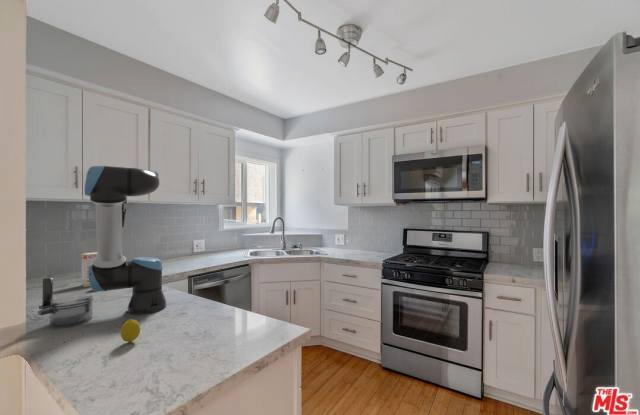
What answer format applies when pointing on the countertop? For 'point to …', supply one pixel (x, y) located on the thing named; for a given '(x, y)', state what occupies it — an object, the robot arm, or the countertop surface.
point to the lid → (63, 301)
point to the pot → (69, 315)
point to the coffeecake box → (87, 266)
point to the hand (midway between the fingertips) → (118, 239)
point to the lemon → (130, 330)
